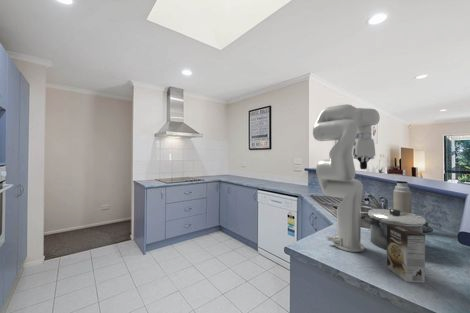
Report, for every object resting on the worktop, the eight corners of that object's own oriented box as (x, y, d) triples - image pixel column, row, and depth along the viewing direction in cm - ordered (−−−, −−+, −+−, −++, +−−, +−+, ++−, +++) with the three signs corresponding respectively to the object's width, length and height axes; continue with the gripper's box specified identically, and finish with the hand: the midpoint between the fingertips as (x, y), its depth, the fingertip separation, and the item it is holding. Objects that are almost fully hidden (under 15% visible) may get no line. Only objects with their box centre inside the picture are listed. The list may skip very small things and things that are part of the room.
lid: (439, 225, 83) (439, 217, 83) (388, 224, 84) (388, 215, 84) (399, 211, 105) (399, 205, 105) (358, 210, 106) (358, 204, 106)
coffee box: (385, 267, 74) (385, 224, 74) (403, 267, 74) (403, 224, 74) (406, 282, 65) (405, 233, 65) (426, 283, 65) (426, 233, 65)
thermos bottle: (412, 229, 115) (412, 181, 116) (409, 232, 110) (409, 182, 111) (395, 226, 121) (395, 180, 122) (391, 228, 116) (391, 181, 117)
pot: (381, 254, 85) (381, 224, 85) (355, 236, 104) (355, 211, 104) (444, 256, 83) (443, 225, 84) (406, 237, 103) (406, 213, 103)
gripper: (353, 136, 109) (353, 169, 109) (381, 136, 109) (381, 169, 108) (346, 137, 117) (346, 168, 117) (372, 137, 116) (372, 169, 116)
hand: (363, 169), depth 112 cm, fingers closed
